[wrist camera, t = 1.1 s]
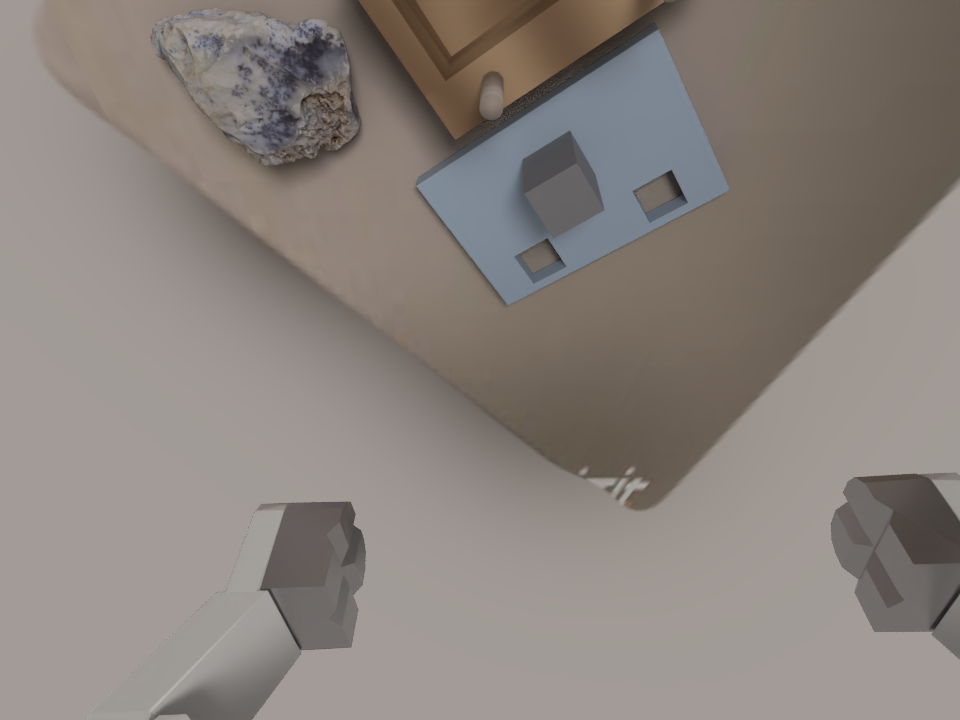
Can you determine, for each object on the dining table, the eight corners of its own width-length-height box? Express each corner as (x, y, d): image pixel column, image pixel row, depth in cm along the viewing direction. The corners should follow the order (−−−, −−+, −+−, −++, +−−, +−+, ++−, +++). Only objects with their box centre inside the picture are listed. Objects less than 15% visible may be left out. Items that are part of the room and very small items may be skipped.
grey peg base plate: (654, 23, 32) (677, 53, 27) (724, 181, 37) (752, 227, 33) (418, 177, 37) (406, 222, 33) (508, 295, 43) (507, 347, 38)
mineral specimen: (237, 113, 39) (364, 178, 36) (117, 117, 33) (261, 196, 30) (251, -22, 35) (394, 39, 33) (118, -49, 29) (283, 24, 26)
